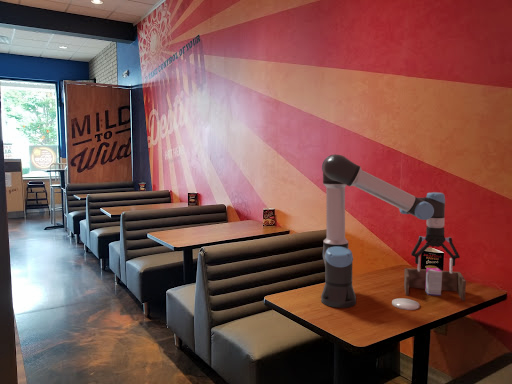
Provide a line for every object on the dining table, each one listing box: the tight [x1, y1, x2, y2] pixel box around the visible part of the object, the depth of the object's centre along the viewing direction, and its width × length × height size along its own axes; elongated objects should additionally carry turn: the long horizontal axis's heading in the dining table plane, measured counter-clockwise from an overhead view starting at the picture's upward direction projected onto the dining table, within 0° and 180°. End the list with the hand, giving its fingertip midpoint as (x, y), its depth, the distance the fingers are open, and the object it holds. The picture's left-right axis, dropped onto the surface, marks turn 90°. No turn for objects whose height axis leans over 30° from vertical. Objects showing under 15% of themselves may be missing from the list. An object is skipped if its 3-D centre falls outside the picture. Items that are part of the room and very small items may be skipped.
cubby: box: [403, 267, 467, 302], centre depth 181 cm, size 24×13×9 cm, turn 72°
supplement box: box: [424, 267, 443, 297], centre depth 180 cm, size 6×6×12 cm
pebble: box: [391, 298, 420, 311], centre depth 168 cm, size 11×11×1 cm
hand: (434, 271), depth 180 cm, fingers open, 13 cm apart
